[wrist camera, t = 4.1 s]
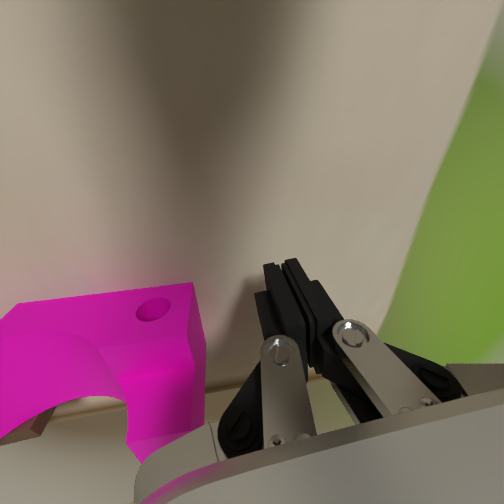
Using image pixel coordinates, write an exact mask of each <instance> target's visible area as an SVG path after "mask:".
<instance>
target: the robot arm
mask: <svg viewBox="0 0 504 504" xmlns="http://www.w3.org/2000/svg"><path fill="white" fill-rule="evenodd" d="M263 268H264V275H265V282H266V289H267V291H262V292H258V293H254V295H255V301H256V306H257V311H258V316H259V320H260V324H261V328H262V333H263V337H264V341H265V342H264V343H263V345H262V347H261V351H260V361H259V363H258V364H257V366H256V367H255V369H254V370H253V372H252V373H251V374H250V376H249V377H248V379H247V380H246V382H245V383H244V385H243V386H242V387H241V389H240V391H239V392H238V393H237V395H236V396H235V398H234V399H233V401H232V402H231V403H230V405H229V406H228V408H227V409H226V411H225V412H224V413H223V415H222V417H221V419H219V420H217V421H216V422H214V423H212V424H210V423H207V424H205V425H203V426H201V427H199V428H197V429H195V430H193V431H192V432H190V433H188V434H186V435H184V436H182V437H180V438H179V439H177V440H175V441H173V442H171V443H169V444H167V445H165V446H164V447H162V448H160V449H158V450H156V451H154V452H153V453H152V454H151V455H149V456H148V457H147V458H146V459H145V461H144V462H143V463H142V465H141V467H140V469H139V471H138V473H137V475H136V480H135V485H134V504H504V364H446V366H441V365H439V364H437V363H434V362H432V361H430V360H427V359H425V358H422V357H420V356H417V355H414V354H412V353H409V352H407V351H404V350H402V349H399V348H396V347H394V346H391V345H389V344H386V343H384V342H382V341H381V340H380V339H379V338H378V337H377V336H376V334H375V333H374V332H373V331H372V330H371V329H370V328H369V327H367V326H366V325H365V324H363V323H361V322H359V321H356V320H352V319H345V320H344V318H343V317H342V315H341V314H340V312H339V311H338V309H337V308H336V306H335V305H334V303H333V302H332V300H331V299H330V297H329V296H328V294H327V293H326V291H325V290H324V288H323V287H322V285H321V284H320V282H319V281H318V280H313V281H310V280H309V278H308V277H307V275H306V273H305V272H304V270H303V268H302V267H301V265H300V264H299V262H298V260H297V259H296V258H292V259H288V260H285V263H282V264H281V268H282V270H281V268H280V266H279V264H278V265H275V264H274V262H273V263H269V264H264V265H263ZM308 365H309V367H310V368H311V367H314V369H315V372H316V374H322V376H323V377H324V378H326V379H328V380H330V383H331V386H332V388H333V389H334V391H335V392H336V394H337V396H338V397H339V399H340V401H341V402H342V404H343V405H344V407H345V408H346V410H347V412H348V414H349V415H350V417H351V419H352V420H353V422H354V423H355V425H354V426H350V427H346V428H342V429H338V430H335V431H331V432H327V433H323V434H319V435H317V433H316V429H315V424H314V419H313V414H312V409H311V404H310V400H309V395H308V390H307V385H306V384H307V381H308Z"/></svg>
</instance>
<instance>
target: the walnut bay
mask: <svg viewBox="0 0 504 504" xmlns="http://www.w3.org/2000/svg"><path fill="white" fill-rule="evenodd" d="M56 406H57V405H56ZM56 406H54V407H52V408H49V409H47V410H45V411H43V412H41V413H39V414H38V415H36V416H34V417H32V418H31V419H29V420H27V421H26V422H24V423H22V424H21V425H19V426H18V427H16V428H15V429H13V430H12V431H11V432H9V433H8V434H6V435H5V436H4V437H2V438H1V439H0V446H1V445H5V444H9V443H13V442H18V441H22V440H26V439H30V438H34V437H39V436H41V434H42V432H43V430H44V428H45V427H46V425H47V423H48V421H49V419H50V417H51V416H52V414H53V412H54V410H55V408H56Z"/></svg>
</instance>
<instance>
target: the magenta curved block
mask: <svg viewBox="0 0 504 504" xmlns="http://www.w3.org/2000/svg"><path fill="white" fill-rule="evenodd" d="M205 363H206V342H205V337H204V332H203V328H202V323H201V318H200V314H199V309H198V305H197V300H196V295H195V291H194V286H193V282H192V283H183V284H175V285H167V286H158V287H150V288H142V289H134V290H125V291H117V292H109V293H101V294H92V295H84V296H76V297H68V298H59V299H51V300H43V301H35V302H26V303H18V304H17V305H16V306H15V307H14V308H13V309H12V310H10V311H9V312H8V313H7V314H6V315H5V316H4V317H3V318H2V319H1V320H0V439H1V438H2V437H4V436H5V435H6V434H8V433H9V432H11V431H12V430H13V429H15V428H16V427H18V426H19V425H21V424H22V423H24V422H26V421H27V420H29V419H31V418H32V417H34V416H36V415H38V414H39V413H41V412H43V411H45V410H47V409H49V408H52V407H54V406H56V405H59V404H61V403H64V402H67V401H70V400H73V399H77V398H81V397H87V396H109V397H114V398H117V399H120V400H122V401H124V402H125V403H127V410H128V431H127V438H126V444H127V445H128V447H129V448H130V449H131V451H132V452H133V453H134V454H135V456H136V457H137V458H138V459H139V461H140V462H141V463H143V462H144V461H145V459H146V458H147V457H148V456H149V455H151V454H152V453H153V452H154V451H156V450H158V449H160V448H162V447H164V446H165V445H167V444H169V443H171V442H173V441H175V440H177V439H179V438H180V437H182V436H184V435H186V434H188V433H190V432H192V431H193V430H195V429H197V428H199V427H201V426H203V425H204V403H205Z"/></svg>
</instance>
